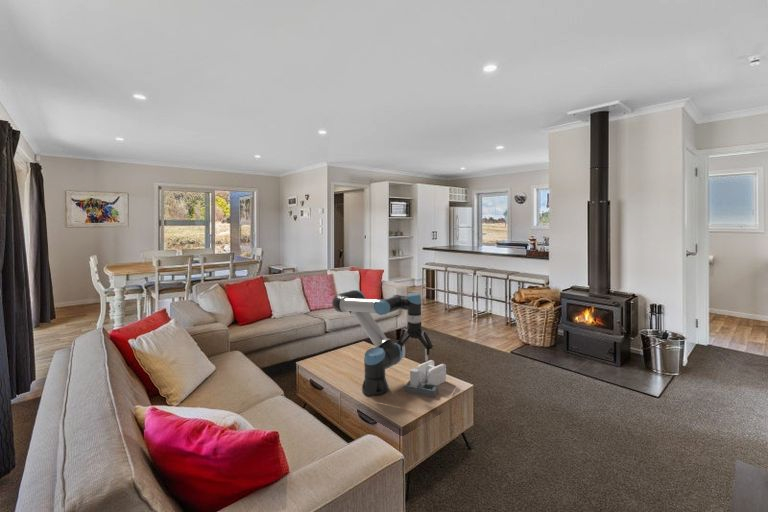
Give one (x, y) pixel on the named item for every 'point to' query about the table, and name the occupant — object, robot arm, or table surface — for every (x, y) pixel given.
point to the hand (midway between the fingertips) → (414, 358)
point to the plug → (414, 377)
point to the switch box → (422, 389)
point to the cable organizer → (432, 373)
